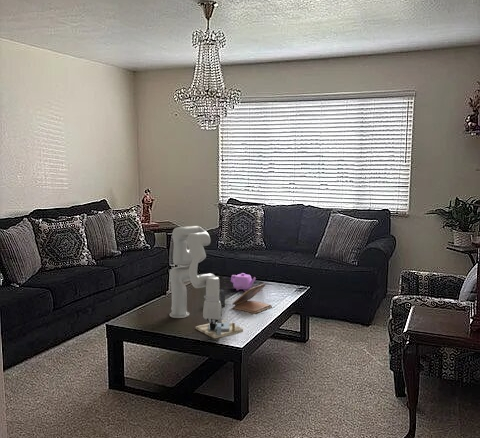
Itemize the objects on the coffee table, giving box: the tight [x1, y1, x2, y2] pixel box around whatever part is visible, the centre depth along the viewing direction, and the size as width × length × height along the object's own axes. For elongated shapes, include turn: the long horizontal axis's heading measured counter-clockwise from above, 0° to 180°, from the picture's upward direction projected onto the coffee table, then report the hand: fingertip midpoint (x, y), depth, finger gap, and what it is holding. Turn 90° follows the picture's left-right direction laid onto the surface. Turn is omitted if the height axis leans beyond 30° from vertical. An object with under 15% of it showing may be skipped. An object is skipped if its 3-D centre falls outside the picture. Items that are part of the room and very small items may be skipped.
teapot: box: [230, 272, 257, 292], centre depth 390 cm, size 20×12×13 cm, turn 69°
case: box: [232, 283, 273, 314], centre depth 344 cm, size 20×21×16 cm
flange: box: [208, 321, 230, 335], centre depth 296 cm, size 19×12×4 cm, turn 1°
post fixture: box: [195, 319, 244, 339], centre depth 300 cm, size 20×20×7 cm
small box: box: [219, 288, 226, 307], centre depth 349 cm, size 11×6×10 cm, turn 109°
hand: (212, 329), depth 292 cm, fingers closed
